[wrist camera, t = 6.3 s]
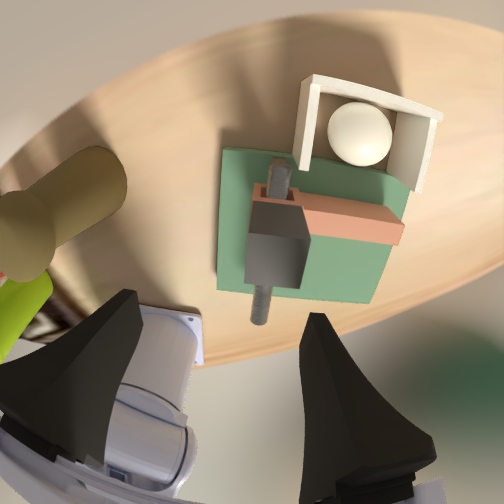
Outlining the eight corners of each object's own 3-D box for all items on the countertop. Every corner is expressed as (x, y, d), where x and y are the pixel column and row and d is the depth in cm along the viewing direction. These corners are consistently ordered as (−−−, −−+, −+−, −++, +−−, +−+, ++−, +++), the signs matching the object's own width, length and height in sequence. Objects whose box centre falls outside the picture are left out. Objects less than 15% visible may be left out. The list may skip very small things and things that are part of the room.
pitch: (218, 280, 23) (216, 289, 22) (225, 146, 17) (222, 149, 16) (366, 295, 23) (369, 303, 22) (405, 176, 17) (412, 181, 16)
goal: (292, 153, 17) (299, 172, 13) (301, 81, 15) (313, 73, 10) (391, 172, 17) (424, 197, 13) (404, 107, 15) (443, 113, 10)
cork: (63, 196, 20) (-24, 263, 10) (80, 134, 17) (-30, 180, 7) (114, 228, 21) (36, 317, 12) (138, 166, 18) (36, 237, 9)
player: (251, 213, 18) (241, 283, 12) (255, 178, 17) (245, 232, 10) (380, 231, 18) (424, 298, 12) (389, 199, 17) (443, 257, 10)
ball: (336, 82, 12) (321, 115, 16) (337, 143, 12) (319, 168, 16) (399, 100, 12) (375, 127, 16) (406, 159, 12) (376, 179, 16)
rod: (252, 294, 22) (249, 324, 19) (269, 154, 16) (269, 166, 13) (267, 295, 22) (266, 326, 19) (288, 156, 16) (293, 169, 13)
